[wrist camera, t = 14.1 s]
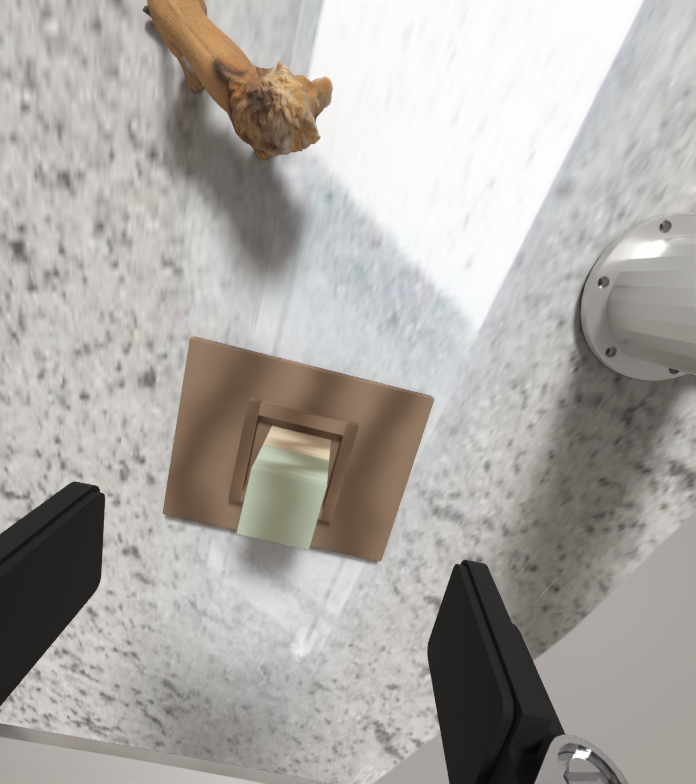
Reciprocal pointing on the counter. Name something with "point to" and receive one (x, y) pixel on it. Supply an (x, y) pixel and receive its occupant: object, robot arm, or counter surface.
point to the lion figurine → (242, 81)
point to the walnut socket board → (299, 413)
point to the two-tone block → (286, 488)
